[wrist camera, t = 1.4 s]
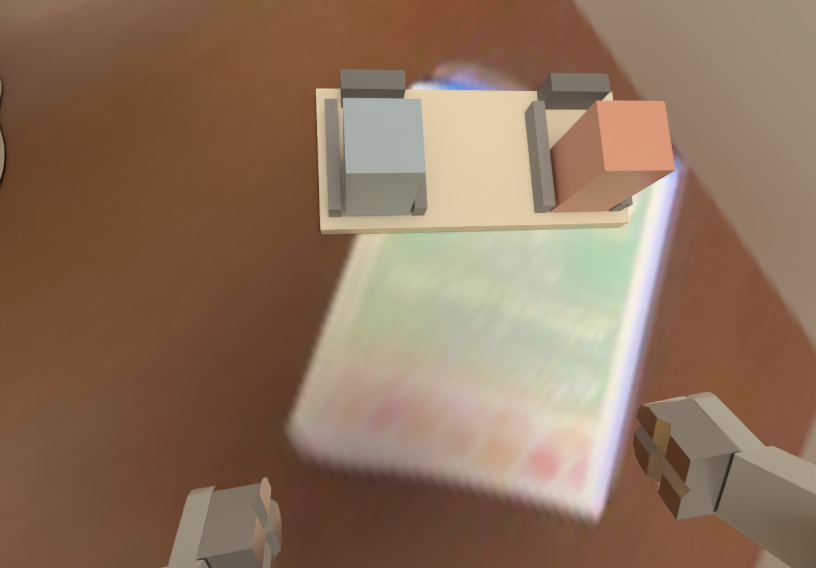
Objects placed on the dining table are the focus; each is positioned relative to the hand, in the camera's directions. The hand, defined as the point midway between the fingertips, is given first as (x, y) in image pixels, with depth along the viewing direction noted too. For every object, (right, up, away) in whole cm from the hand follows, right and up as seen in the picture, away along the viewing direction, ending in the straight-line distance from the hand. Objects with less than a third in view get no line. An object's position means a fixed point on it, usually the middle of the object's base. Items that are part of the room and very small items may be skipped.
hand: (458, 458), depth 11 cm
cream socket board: (+4, +14, +33) cm, 36 cm away
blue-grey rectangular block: (-4, +12, +30) cm, 32 cm away
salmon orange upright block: (+13, +12, +32) cm, 37 cm away
